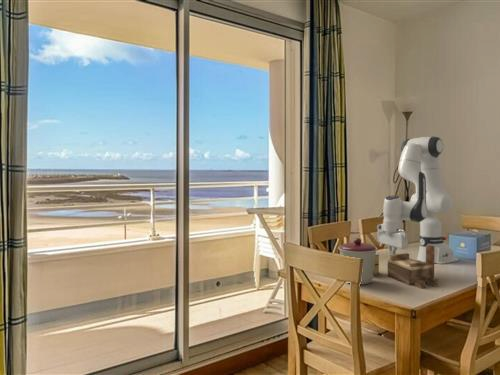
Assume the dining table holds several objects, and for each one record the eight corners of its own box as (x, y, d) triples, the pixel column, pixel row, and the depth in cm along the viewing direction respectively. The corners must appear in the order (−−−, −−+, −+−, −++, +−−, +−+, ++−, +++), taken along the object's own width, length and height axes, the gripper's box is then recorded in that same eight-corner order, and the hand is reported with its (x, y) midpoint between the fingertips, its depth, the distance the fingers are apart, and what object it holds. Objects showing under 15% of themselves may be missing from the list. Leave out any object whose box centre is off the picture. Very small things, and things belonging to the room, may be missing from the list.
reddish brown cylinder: (430, 277, 201) (430, 245, 200) (435, 279, 198) (436, 246, 197) (423, 278, 200) (424, 245, 199) (429, 280, 196) (430, 247, 195)
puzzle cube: (351, 273, 211) (351, 254, 211) (362, 269, 218) (362, 251, 217) (367, 277, 204) (367, 257, 203) (379, 273, 210) (379, 254, 210)
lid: (407, 259, 208) (407, 252, 207) (433, 267, 191) (433, 260, 191) (387, 261, 204) (387, 254, 204) (411, 270, 187) (411, 262, 187)
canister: (347, 288, 185) (347, 242, 184) (332, 278, 203) (332, 235, 202) (384, 286, 189) (384, 240, 187) (366, 275, 206) (366, 234, 205)
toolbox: (407, 273, 208) (407, 260, 208) (440, 285, 187) (440, 270, 187) (387, 276, 204) (387, 262, 204) (418, 288, 183) (418, 273, 183)
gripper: (411, 230, 200) (411, 258, 201) (385, 224, 219) (385, 250, 220) (400, 230, 198) (400, 259, 199) (375, 225, 218) (375, 251, 218)
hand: (392, 254), depth 210 cm, fingers closed
